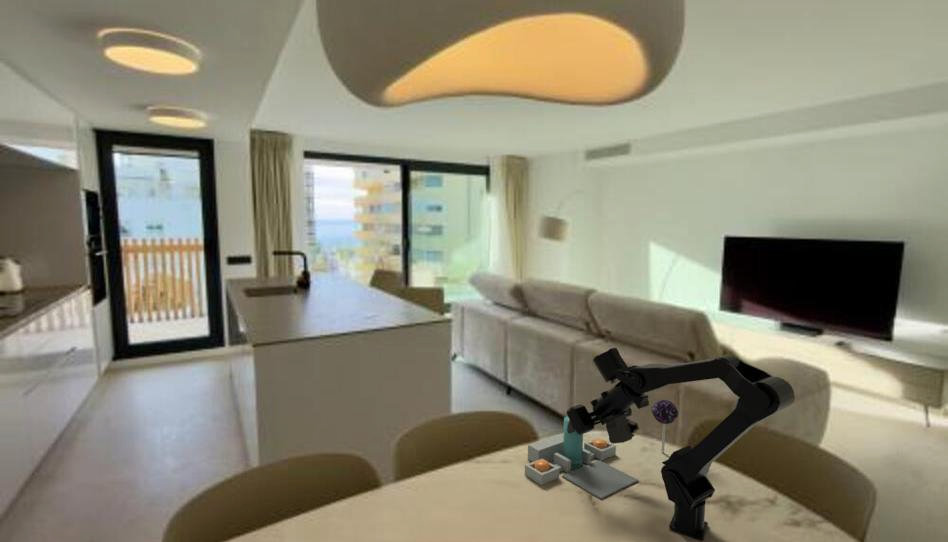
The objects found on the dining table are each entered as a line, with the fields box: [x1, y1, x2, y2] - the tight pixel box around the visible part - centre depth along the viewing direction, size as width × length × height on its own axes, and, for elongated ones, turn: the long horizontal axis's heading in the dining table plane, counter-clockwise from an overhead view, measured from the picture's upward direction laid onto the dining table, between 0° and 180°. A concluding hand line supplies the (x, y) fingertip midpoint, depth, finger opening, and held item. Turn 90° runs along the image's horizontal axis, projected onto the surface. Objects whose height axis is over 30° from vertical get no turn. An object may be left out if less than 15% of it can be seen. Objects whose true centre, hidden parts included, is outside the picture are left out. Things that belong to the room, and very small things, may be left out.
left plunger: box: [535, 460, 550, 473], centre depth 116 cm, size 4×4×3 cm
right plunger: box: [593, 438, 608, 449], centre depth 129 cm, size 4×4×3 cm
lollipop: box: [651, 399, 679, 454], centre depth 129 cm, size 7×7×15 cm
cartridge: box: [562, 415, 584, 470], centre depth 122 cm, size 5×5×12 cm
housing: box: [524, 432, 617, 486], centre depth 124 cm, size 12×28×4 cm, turn 126°
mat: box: [561, 459, 639, 500], centre depth 115 cm, size 12×14×1 cm
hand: (580, 427), depth 120 cm, fingers open, 9 cm apart
